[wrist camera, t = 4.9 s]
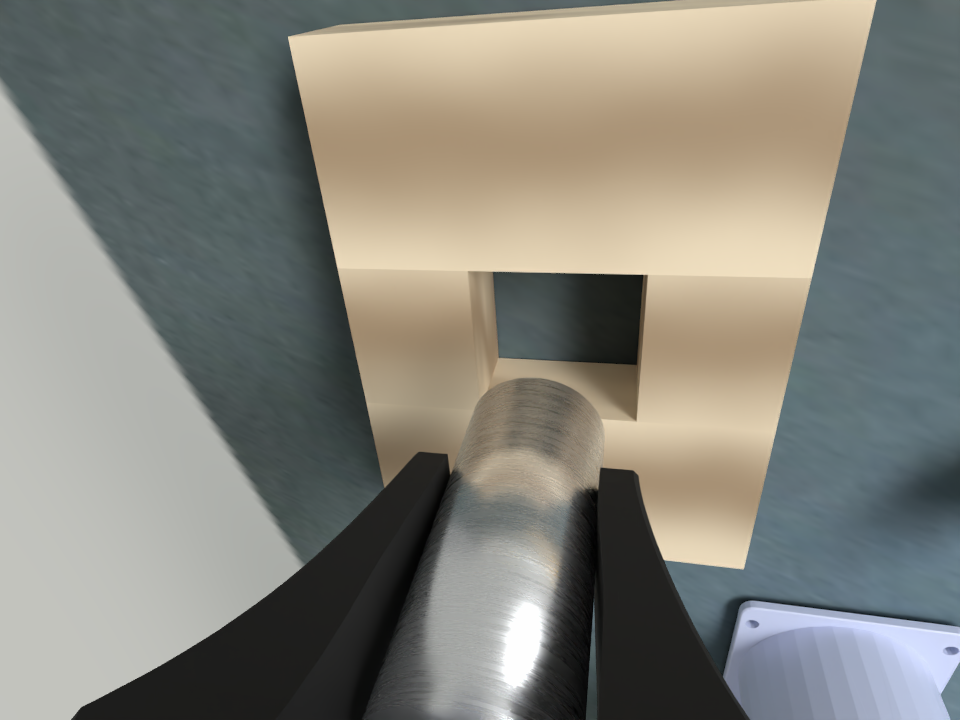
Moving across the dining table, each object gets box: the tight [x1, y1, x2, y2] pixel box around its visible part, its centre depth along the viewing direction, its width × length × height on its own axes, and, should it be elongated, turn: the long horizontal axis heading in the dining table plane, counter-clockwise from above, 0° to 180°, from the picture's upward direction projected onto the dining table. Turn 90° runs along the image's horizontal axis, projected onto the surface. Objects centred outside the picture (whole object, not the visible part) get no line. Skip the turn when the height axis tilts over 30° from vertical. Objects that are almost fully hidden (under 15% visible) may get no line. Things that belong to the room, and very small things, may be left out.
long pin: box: [362, 378, 605, 720], centre depth 11 cm, size 3×3×7 cm
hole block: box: [288, 0, 876, 569], centre depth 18 cm, size 16×12×3 cm
